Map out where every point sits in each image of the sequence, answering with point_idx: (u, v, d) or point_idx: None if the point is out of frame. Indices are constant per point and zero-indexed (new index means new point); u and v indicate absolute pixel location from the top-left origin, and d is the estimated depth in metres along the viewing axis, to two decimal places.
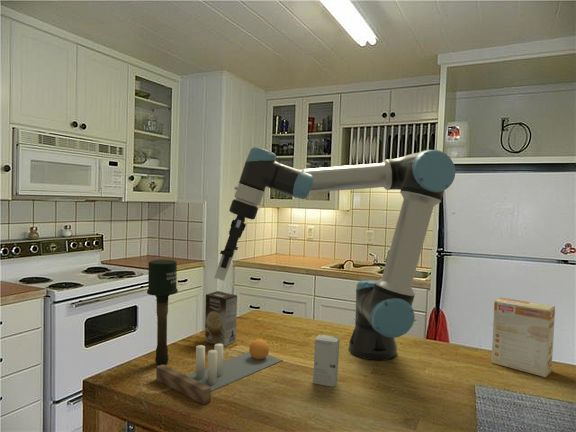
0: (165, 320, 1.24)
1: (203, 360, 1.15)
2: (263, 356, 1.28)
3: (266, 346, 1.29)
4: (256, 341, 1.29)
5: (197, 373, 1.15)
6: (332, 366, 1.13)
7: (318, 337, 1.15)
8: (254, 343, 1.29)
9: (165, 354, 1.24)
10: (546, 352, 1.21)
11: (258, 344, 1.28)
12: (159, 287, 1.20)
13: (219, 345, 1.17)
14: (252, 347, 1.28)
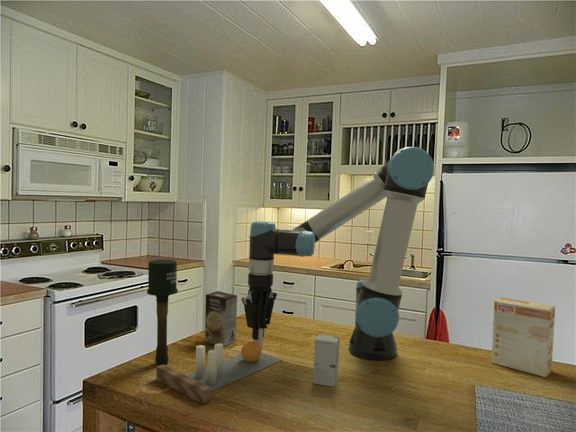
0: (165, 320, 1.24)
1: (203, 360, 1.15)
2: (258, 358, 1.26)
3: (255, 350, 1.25)
4: (243, 351, 1.26)
5: (197, 373, 1.15)
6: (332, 366, 1.13)
7: (318, 337, 1.15)
8: (243, 354, 1.26)
9: (165, 354, 1.24)
10: (546, 352, 1.21)
11: (246, 354, 1.25)
12: (159, 287, 1.20)
13: (219, 345, 1.17)
14: (244, 358, 1.26)
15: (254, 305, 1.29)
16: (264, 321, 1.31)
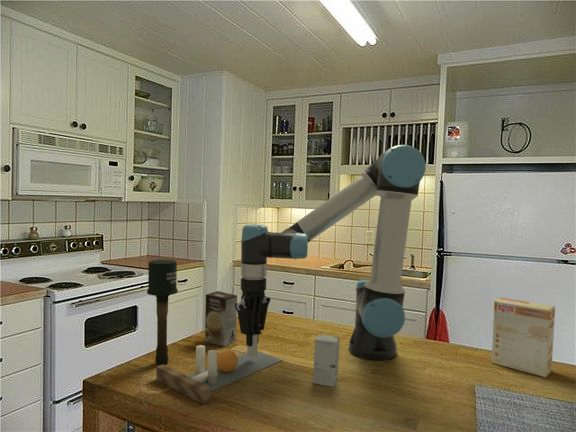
0: (165, 320, 1.24)
1: (203, 360, 1.15)
2: (232, 359, 1.18)
3: (235, 367, 1.20)
4: None
5: (197, 373, 1.15)
6: (332, 366, 1.13)
7: (318, 337, 1.15)
8: None
9: (165, 354, 1.24)
10: (546, 352, 1.21)
11: None
12: (159, 287, 1.20)
13: None
14: None
15: (247, 311, 1.26)
16: (258, 327, 1.27)
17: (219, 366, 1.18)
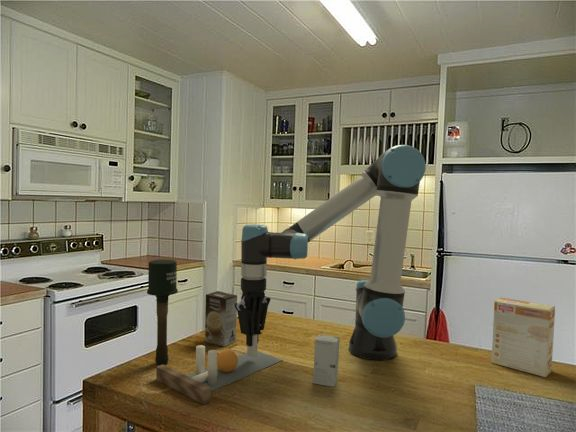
0: (165, 320, 1.24)
1: (203, 360, 1.15)
2: (232, 359, 1.18)
3: (235, 367, 1.20)
4: None
5: (197, 373, 1.15)
6: (332, 366, 1.13)
7: (318, 337, 1.15)
8: None
9: (165, 354, 1.24)
10: (546, 352, 1.21)
11: None
12: (159, 287, 1.20)
13: None
14: None
15: (247, 311, 1.26)
16: (258, 327, 1.27)
17: (219, 366, 1.18)
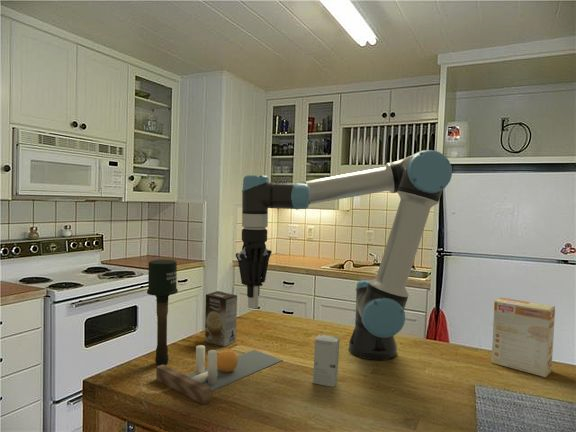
0: (165, 320, 1.24)
1: (203, 360, 1.15)
2: (232, 359, 1.18)
3: (235, 367, 1.20)
4: None
5: (197, 373, 1.15)
6: (332, 366, 1.13)
7: (318, 337, 1.15)
8: None
9: (165, 354, 1.24)
10: (546, 352, 1.21)
11: None
12: (159, 287, 1.20)
13: None
14: None
15: (248, 262, 1.25)
16: (259, 278, 1.27)
17: (219, 366, 1.18)
